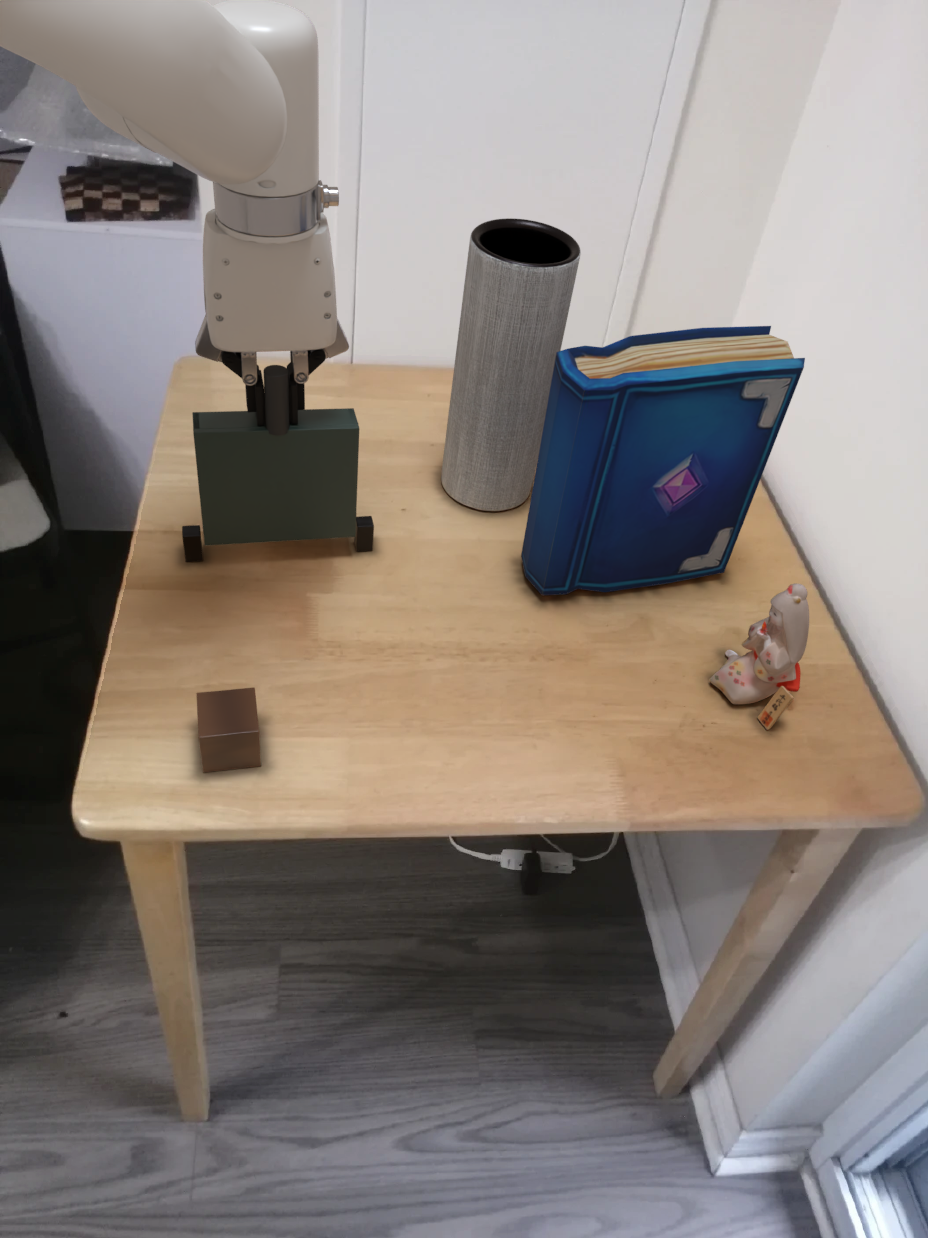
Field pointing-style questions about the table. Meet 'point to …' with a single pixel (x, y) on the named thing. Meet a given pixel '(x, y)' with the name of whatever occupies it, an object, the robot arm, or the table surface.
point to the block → (228, 729)
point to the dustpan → (277, 471)
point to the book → (653, 456)
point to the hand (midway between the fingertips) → (276, 414)
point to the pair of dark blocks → (194, 543)
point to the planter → (506, 359)
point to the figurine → (769, 657)
